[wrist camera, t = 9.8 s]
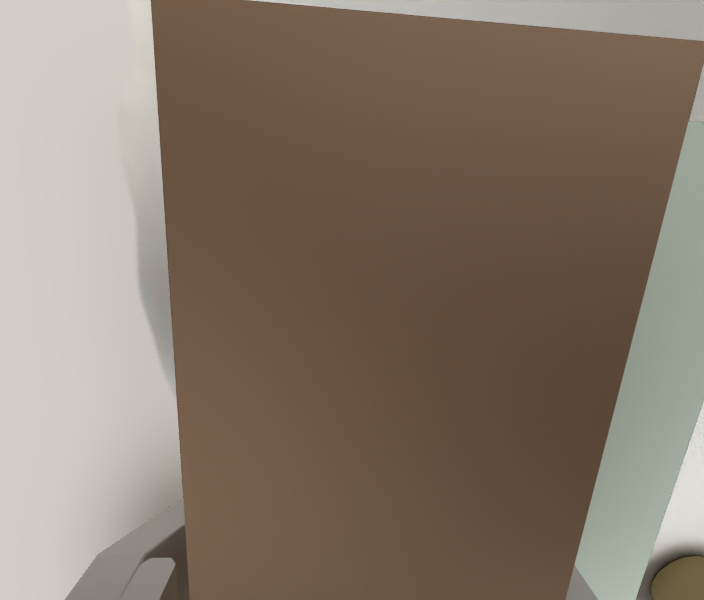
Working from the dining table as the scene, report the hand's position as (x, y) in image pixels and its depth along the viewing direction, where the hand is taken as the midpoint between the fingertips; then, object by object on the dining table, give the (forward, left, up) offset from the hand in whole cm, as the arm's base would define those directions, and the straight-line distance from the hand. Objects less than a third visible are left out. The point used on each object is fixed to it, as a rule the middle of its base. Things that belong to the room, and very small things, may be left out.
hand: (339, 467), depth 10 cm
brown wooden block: (0, 0, -8) cm, 8 cm away
